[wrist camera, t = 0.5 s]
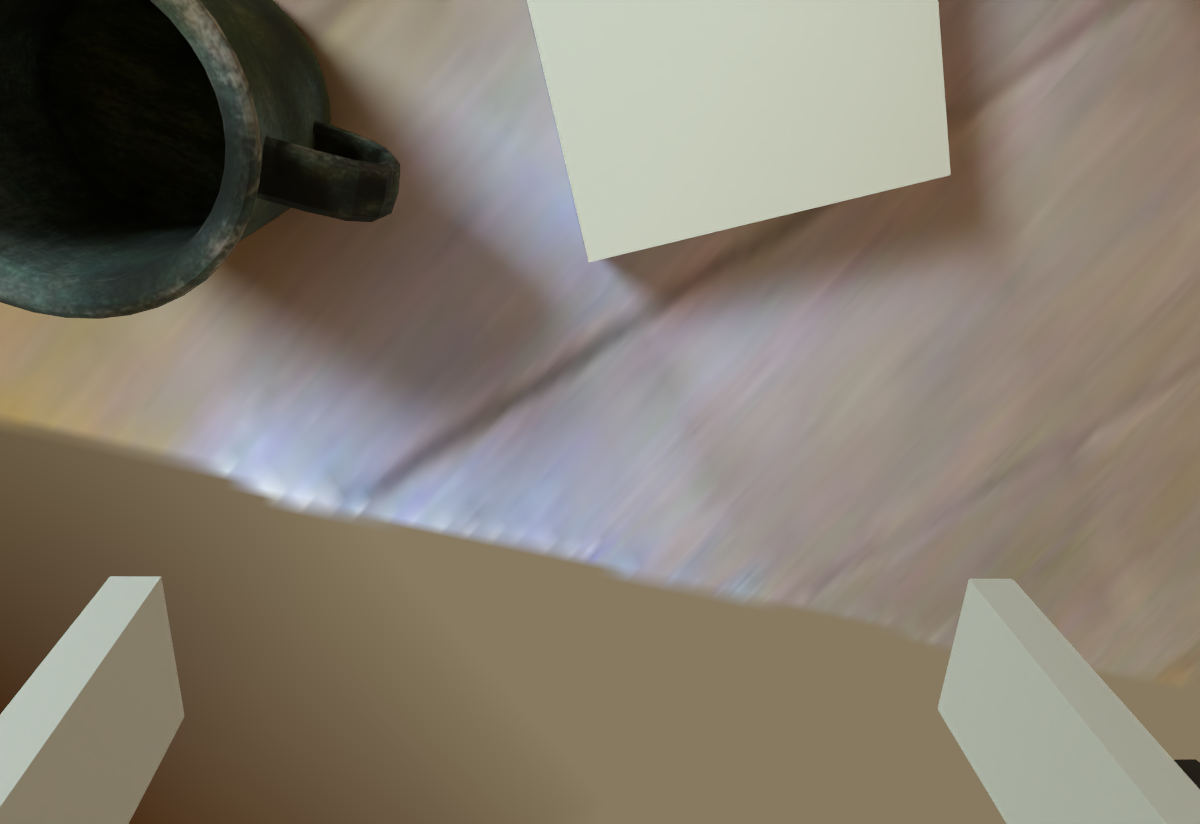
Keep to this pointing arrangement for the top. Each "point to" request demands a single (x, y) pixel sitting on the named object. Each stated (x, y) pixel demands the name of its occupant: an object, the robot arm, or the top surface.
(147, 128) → the mug
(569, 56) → the socket
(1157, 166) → the top surface
